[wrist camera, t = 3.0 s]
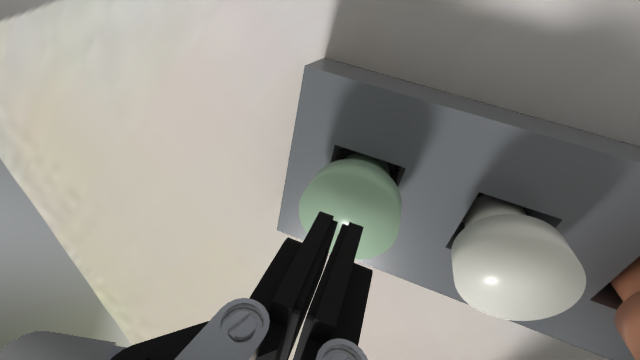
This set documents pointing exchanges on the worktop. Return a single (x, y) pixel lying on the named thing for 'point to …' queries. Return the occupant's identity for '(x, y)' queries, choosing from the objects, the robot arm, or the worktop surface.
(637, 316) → the terracotta button
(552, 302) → the ivory button
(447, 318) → the worktop surface
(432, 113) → the button panel
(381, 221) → the sage button
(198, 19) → the worktop surface
